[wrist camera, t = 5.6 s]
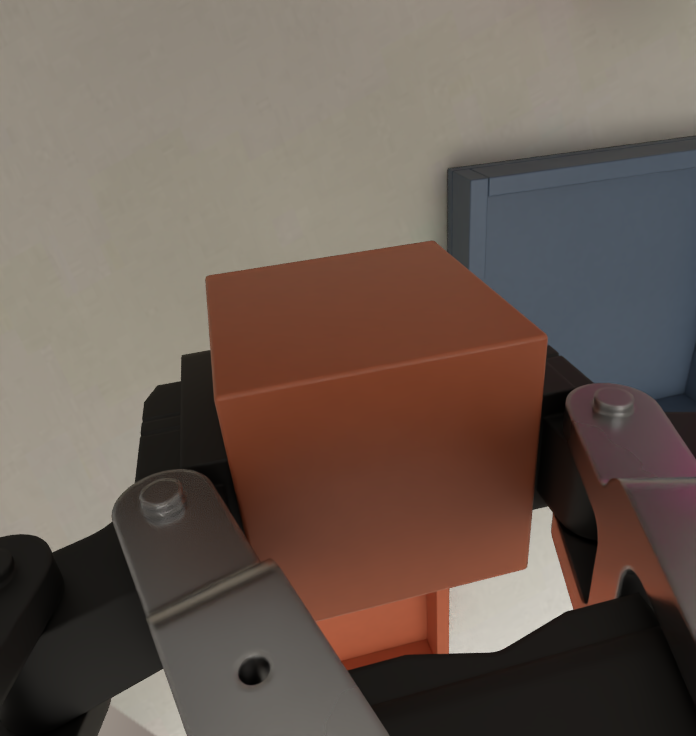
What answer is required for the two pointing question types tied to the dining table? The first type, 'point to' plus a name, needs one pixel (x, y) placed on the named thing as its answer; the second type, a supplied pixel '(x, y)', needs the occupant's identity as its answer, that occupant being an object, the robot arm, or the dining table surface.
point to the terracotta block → (377, 422)
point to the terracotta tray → (391, 630)
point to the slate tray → (593, 256)
